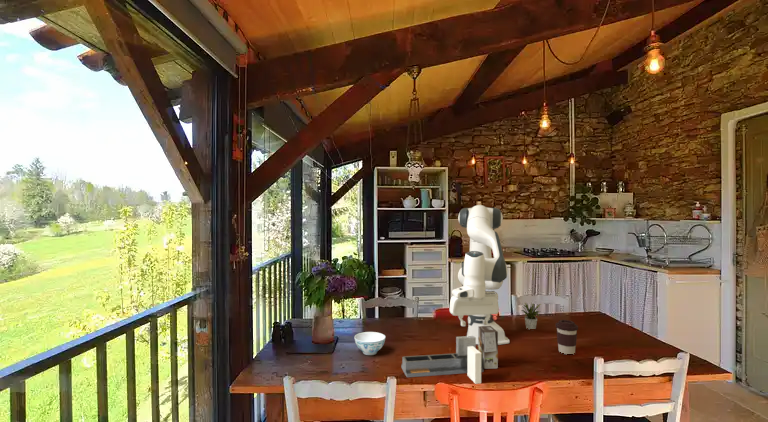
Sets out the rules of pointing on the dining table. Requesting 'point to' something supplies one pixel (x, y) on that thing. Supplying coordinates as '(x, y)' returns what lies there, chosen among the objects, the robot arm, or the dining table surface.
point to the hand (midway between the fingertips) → (474, 325)
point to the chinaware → (369, 342)
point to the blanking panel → (474, 364)
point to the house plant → (531, 316)
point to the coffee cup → (566, 336)
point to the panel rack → (440, 361)
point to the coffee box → (488, 346)
